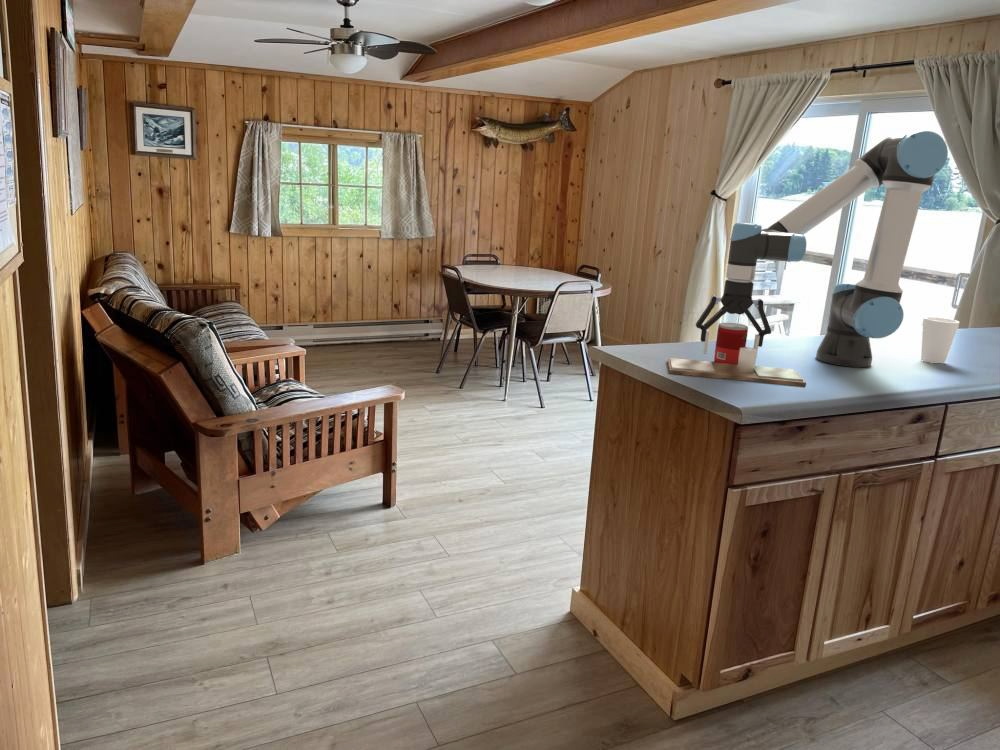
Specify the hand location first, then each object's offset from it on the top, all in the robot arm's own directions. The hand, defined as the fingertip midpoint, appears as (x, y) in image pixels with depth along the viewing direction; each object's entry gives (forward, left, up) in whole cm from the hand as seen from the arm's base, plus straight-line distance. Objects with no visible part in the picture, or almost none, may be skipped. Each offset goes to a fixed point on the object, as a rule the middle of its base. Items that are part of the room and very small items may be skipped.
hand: (729, 355), depth 210 cm
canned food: (0, 0, -2) cm, 2 cm away
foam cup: (-64, -29, -2) cm, 70 cm away
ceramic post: (-3, +12, -2) cm, 13 cm away
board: (0, +12, -2) cm, 12 cm away
